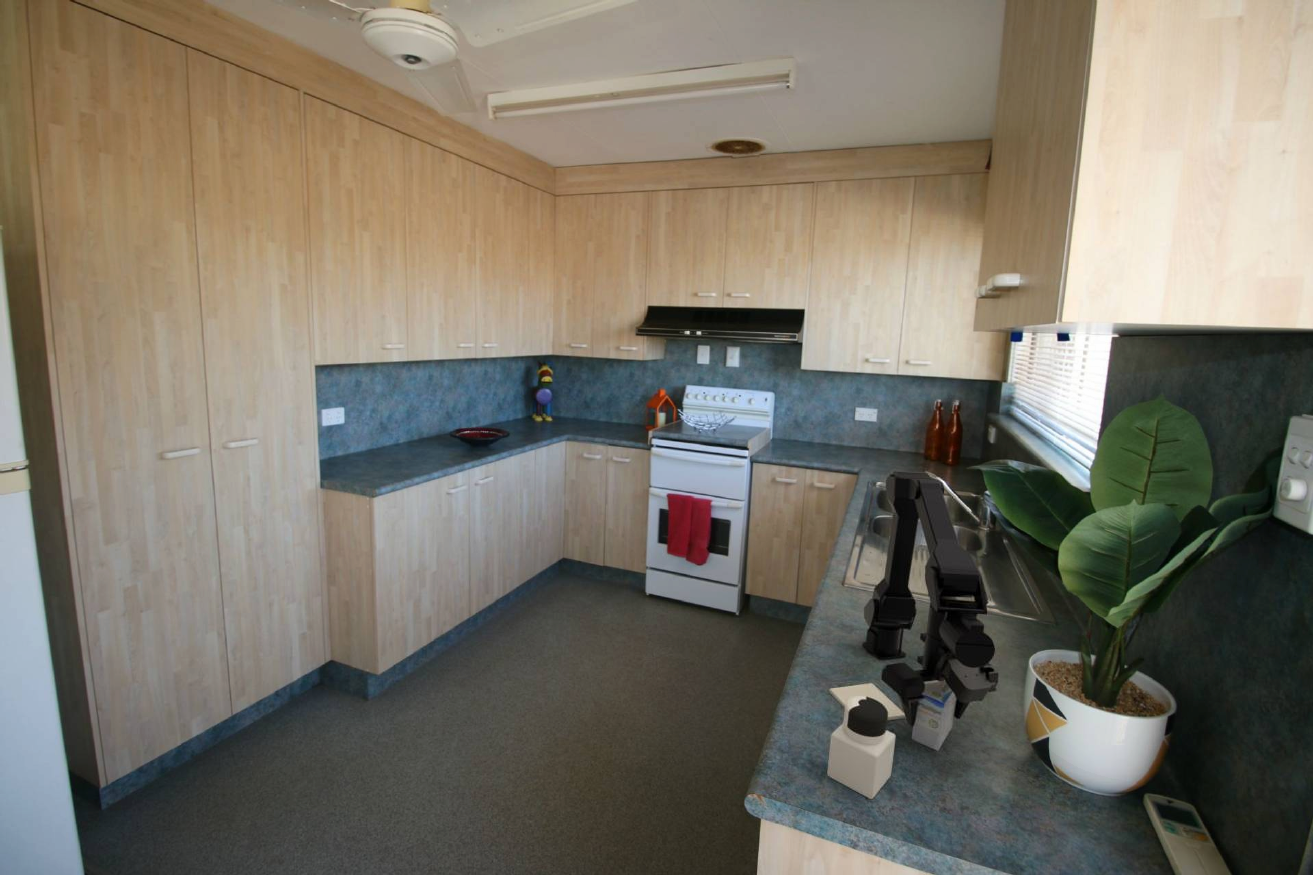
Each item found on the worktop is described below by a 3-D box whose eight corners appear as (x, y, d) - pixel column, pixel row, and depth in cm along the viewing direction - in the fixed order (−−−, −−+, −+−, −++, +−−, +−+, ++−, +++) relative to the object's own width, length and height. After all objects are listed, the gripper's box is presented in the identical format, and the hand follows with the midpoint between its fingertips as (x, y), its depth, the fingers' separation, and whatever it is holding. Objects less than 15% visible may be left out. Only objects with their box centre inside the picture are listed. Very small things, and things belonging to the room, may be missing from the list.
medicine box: (925, 718, 110) (931, 673, 109) (952, 729, 108) (959, 683, 106) (910, 740, 104) (916, 692, 103) (939, 752, 102) (945, 703, 100)
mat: (871, 686, 120) (871, 683, 120) (905, 717, 110) (905, 714, 110) (829, 691, 117) (829, 688, 117) (860, 724, 108) (860, 721, 108)
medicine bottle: (891, 776, 96) (900, 704, 94) (871, 801, 90) (880, 725, 88) (847, 753, 100) (854, 684, 98) (826, 776, 95) (833, 704, 93)
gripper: (930, 667, 93) (918, 761, 95) (1032, 654, 98) (1017, 744, 100) (884, 631, 103) (874, 717, 106) (978, 621, 108) (966, 703, 111)
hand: (933, 721), depth 106 cm, fingers closed on medicine box, 9 cm apart
